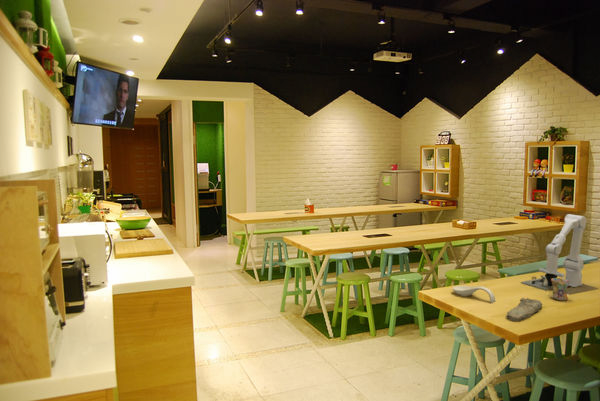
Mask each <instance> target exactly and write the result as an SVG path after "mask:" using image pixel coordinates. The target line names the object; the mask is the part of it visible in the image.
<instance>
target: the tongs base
mask: <svg viewBox="0 0 600 401" xmlns="http://www.w3.org/2000/svg"><path fill="white" fill-rule="evenodd" d="M529 280H530V281H529V283H530V284H535V283H539V282H544V280H545V278H542V277H538V278H536V279H533V280H532V279H529Z"/></svg>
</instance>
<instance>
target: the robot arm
mask: <svg viewBox="0 0 600 401" xmlns="http://www.w3.org/2000/svg"><path fill="white" fill-rule="evenodd" d="M586 225H587V218H586V217H585V216H584V215H577V214H570V213H568V214H566V215H565V217H564V224H563V225H562V228H561V230H560V232H559V233H557V234H556V235H555V237H554V238H553V239H552V241H551V242H550V243H549V244H547V245H546V247H545V253H546V254H545V255H546V256H547V257H546V266H545V267H546V268H538V272H539V273H543V274H544V276H545V277H546V279H547V282H548V286H550V287H552V286H553V284H552V281H551V279H552V278H559V277H560V278H561V279H565V280H568V281H570V283H569V285H568V287H571V288H572V287H573V288H577V287H580V286H583V283H582V282H583V273H582V271H583V270H584V267H585V266H584V259H583V258H582V257H581V256H580V252H581V246H582V242H583V234H584V230H585V229H586ZM571 230H573V232H572V238H571V244H570V248H569V254H568V255H566V256H565V257H564V260H563V262H562V266H563V268H564V270H565V273H562V272H559V271H558V265H559V264H558V263H559V255H560V254H561V253H562V249H563V245H564V243H566V241H567V238H566V237H567V235H568V234H569V233H570V232H571Z"/></svg>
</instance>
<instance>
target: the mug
mask: <svg viewBox="0 0 600 401" xmlns="http://www.w3.org/2000/svg"><path fill="white" fill-rule="evenodd" d="M551 281H552V284H553V289H552V292H551V294H550V298H551V299H553V300H557V301H568V299H569V297H568V294H567V291H568V287H569V283H570V281H568V280H565V278H561V277H560V278H559V277H557V278H552V279H551Z"/></svg>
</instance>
